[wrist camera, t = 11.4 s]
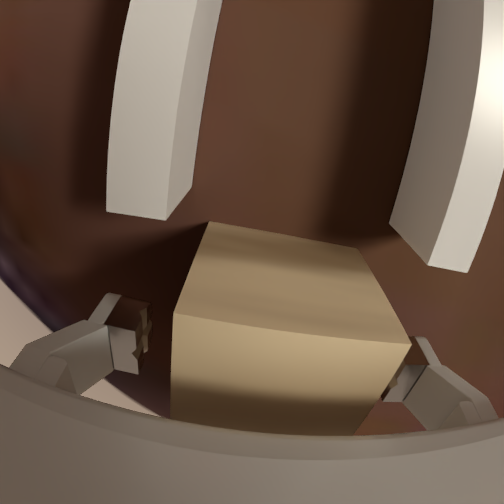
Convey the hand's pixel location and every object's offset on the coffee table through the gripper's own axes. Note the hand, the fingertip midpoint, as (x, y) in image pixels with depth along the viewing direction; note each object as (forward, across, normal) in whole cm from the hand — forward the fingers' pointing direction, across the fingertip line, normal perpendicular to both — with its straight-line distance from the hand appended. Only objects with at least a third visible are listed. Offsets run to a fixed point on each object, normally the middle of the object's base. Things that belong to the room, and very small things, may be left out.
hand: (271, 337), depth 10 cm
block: (+2, 0, 0) cm, 2 cm away
